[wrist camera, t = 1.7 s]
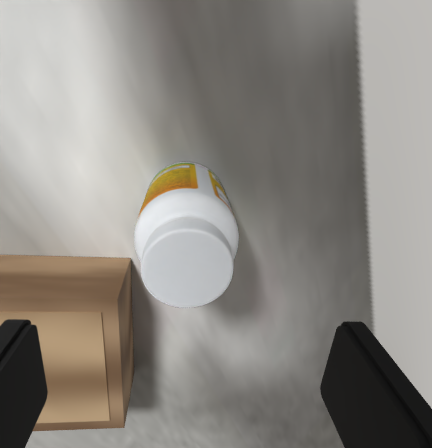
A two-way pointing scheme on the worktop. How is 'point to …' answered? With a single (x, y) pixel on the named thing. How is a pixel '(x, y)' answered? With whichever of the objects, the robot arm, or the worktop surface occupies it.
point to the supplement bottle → (186, 236)
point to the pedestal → (76, 334)
